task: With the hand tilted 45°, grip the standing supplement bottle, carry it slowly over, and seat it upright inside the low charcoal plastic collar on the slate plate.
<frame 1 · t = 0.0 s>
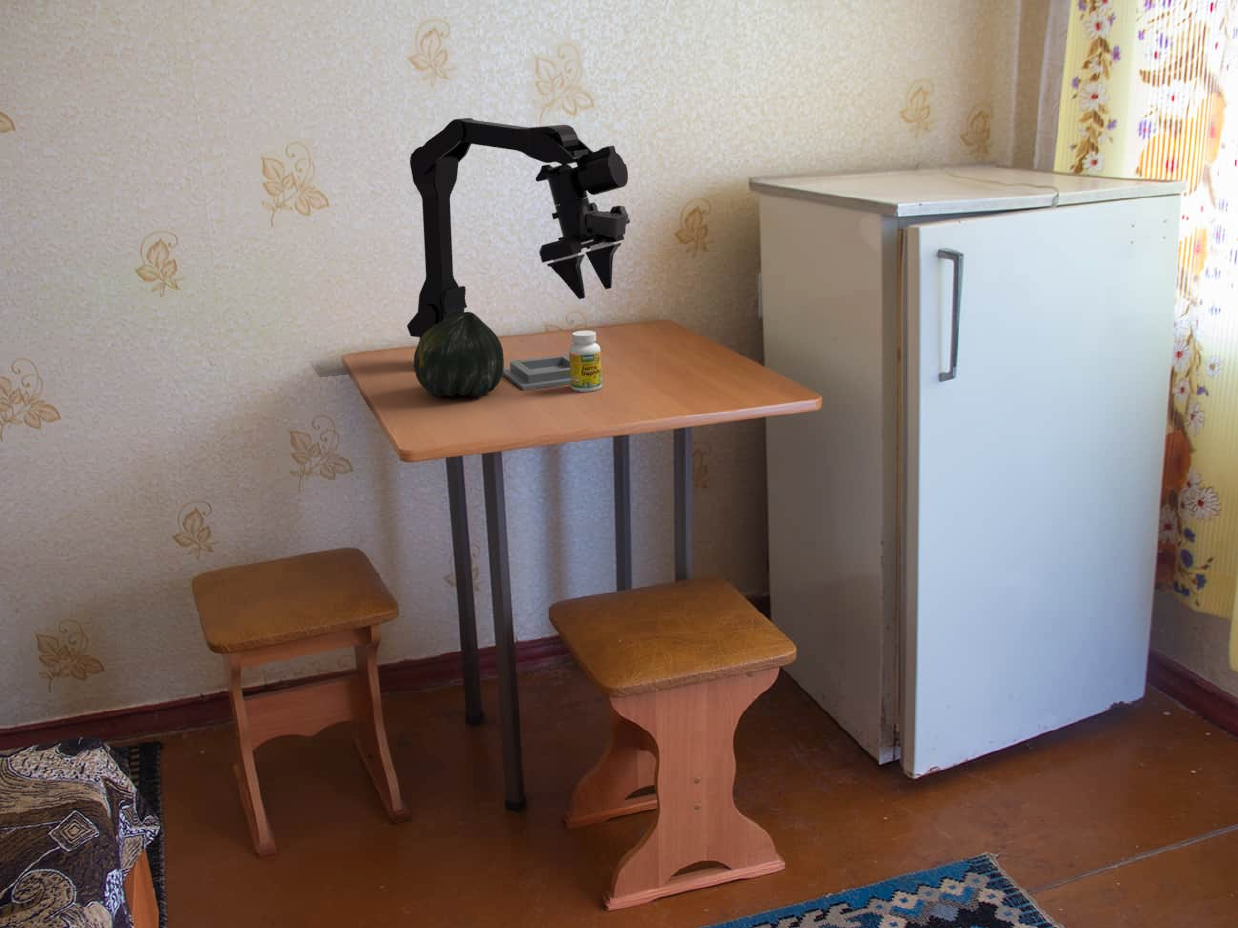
hand: (595, 293, 196), 15 cm above the table, tool pointing down, fingers open, 9 cm apart
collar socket: (549, 376, 207), on the table
squash: (463, 394, 198), on the table
supplement bottle: (586, 389, 198), on the table
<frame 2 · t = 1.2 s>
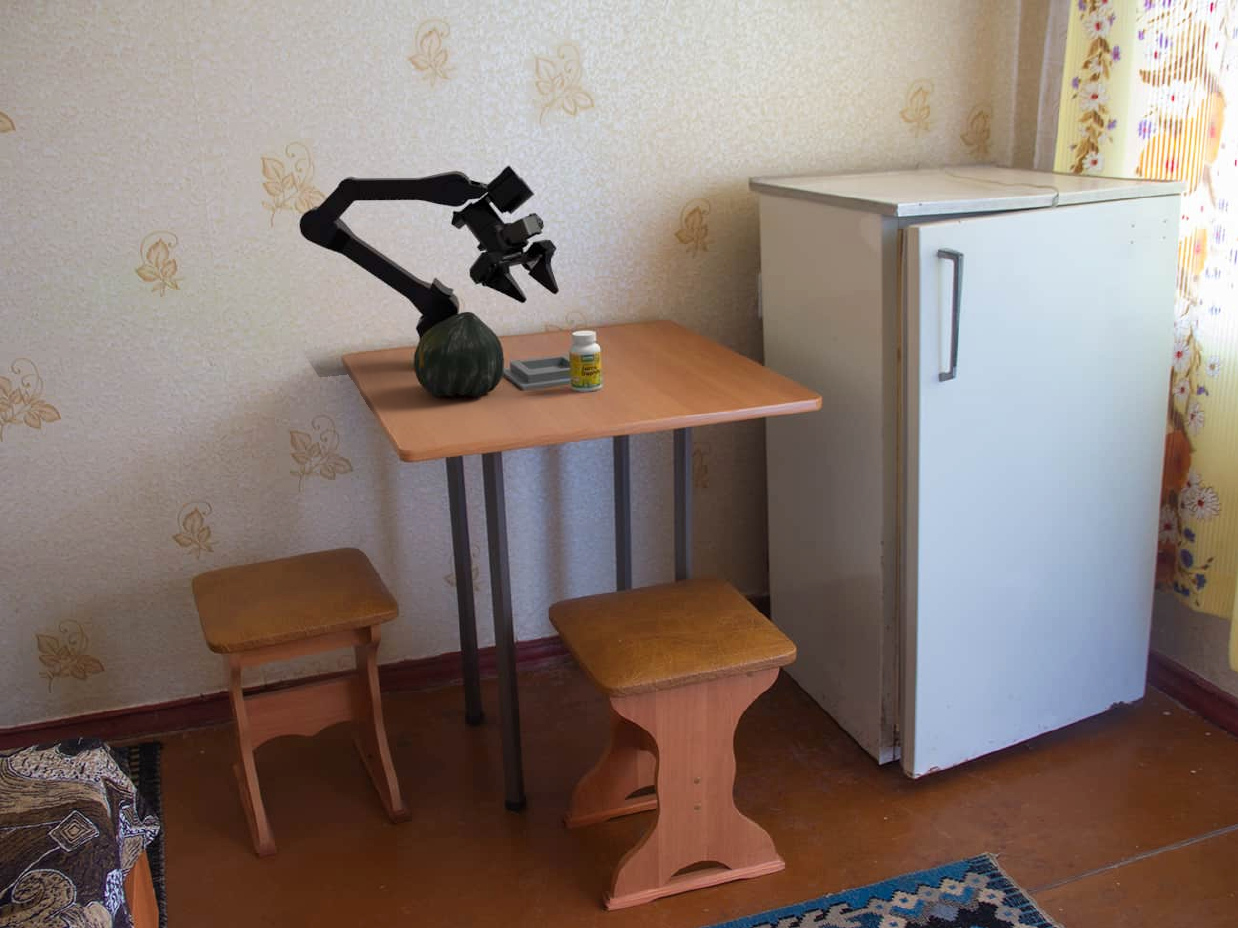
hand: (541, 297, 206), 13 cm above the table, tool tilted 45°, fingers open, 9 cm apart
nothing on the table moved.
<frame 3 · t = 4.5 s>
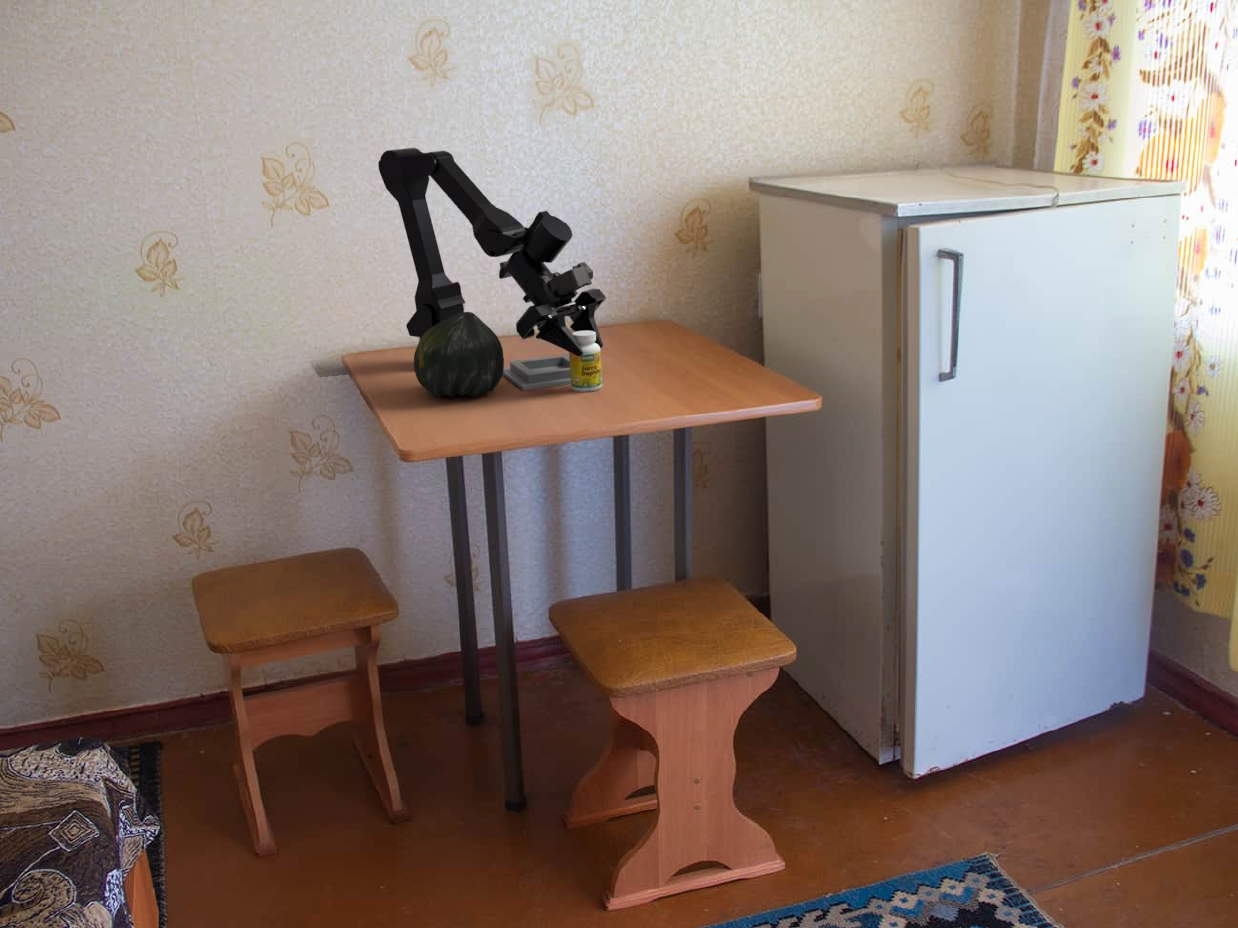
hand: (591, 351, 195), 7 cm above the table, tool tilted 45°, fingers closed on supplement bottle, 5 cm apart
supplement bottle: (586, 389, 198), on the table, touching gripper
everything else where it was.
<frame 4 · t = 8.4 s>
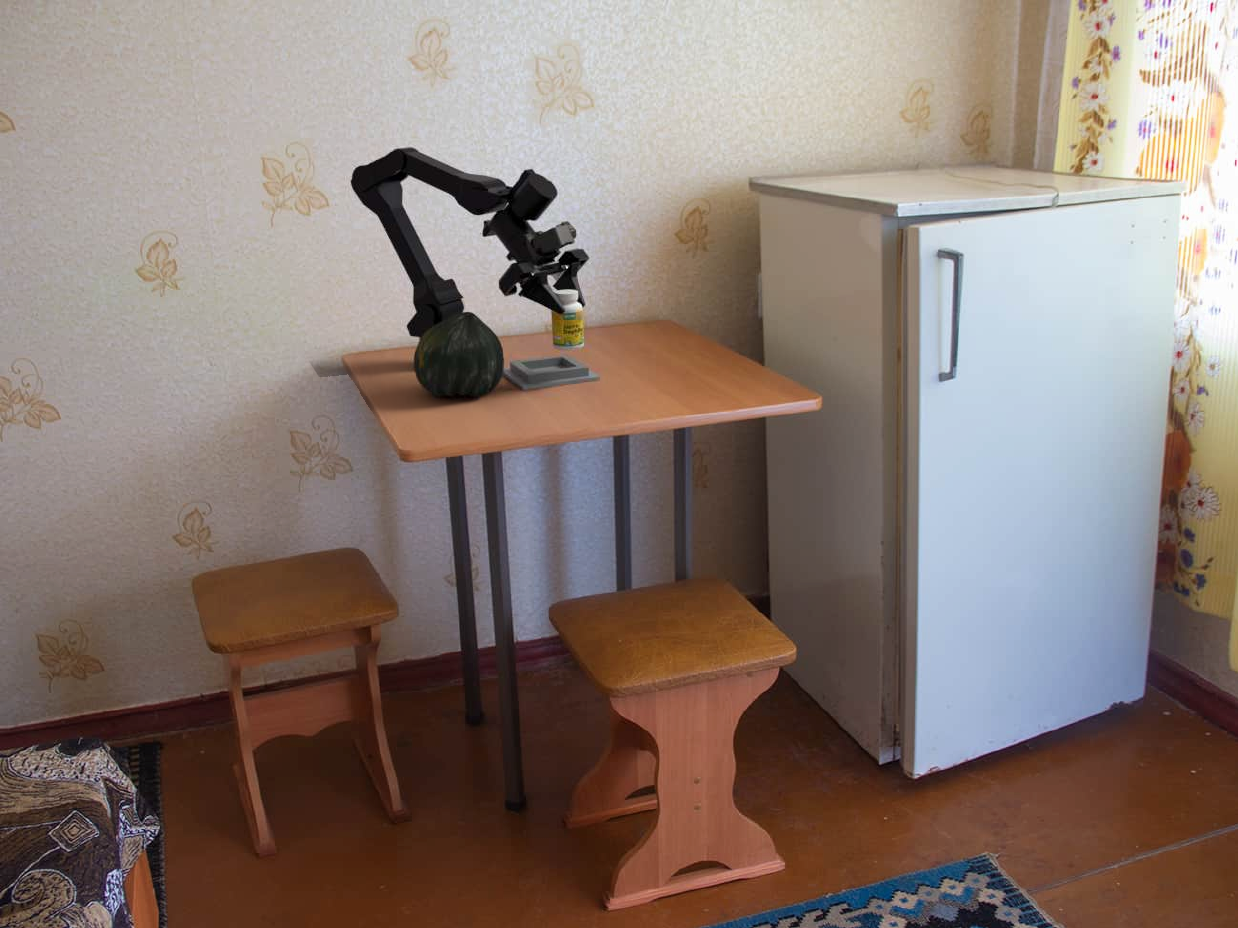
hand: (573, 309, 196), 13 cm above the table, tool tilted 45°, fingers closed on supplement bottle, 5 cm apart
supplement bottle: (568, 348, 199), point 6 cm above the table, touching gripper
everything else where it was.
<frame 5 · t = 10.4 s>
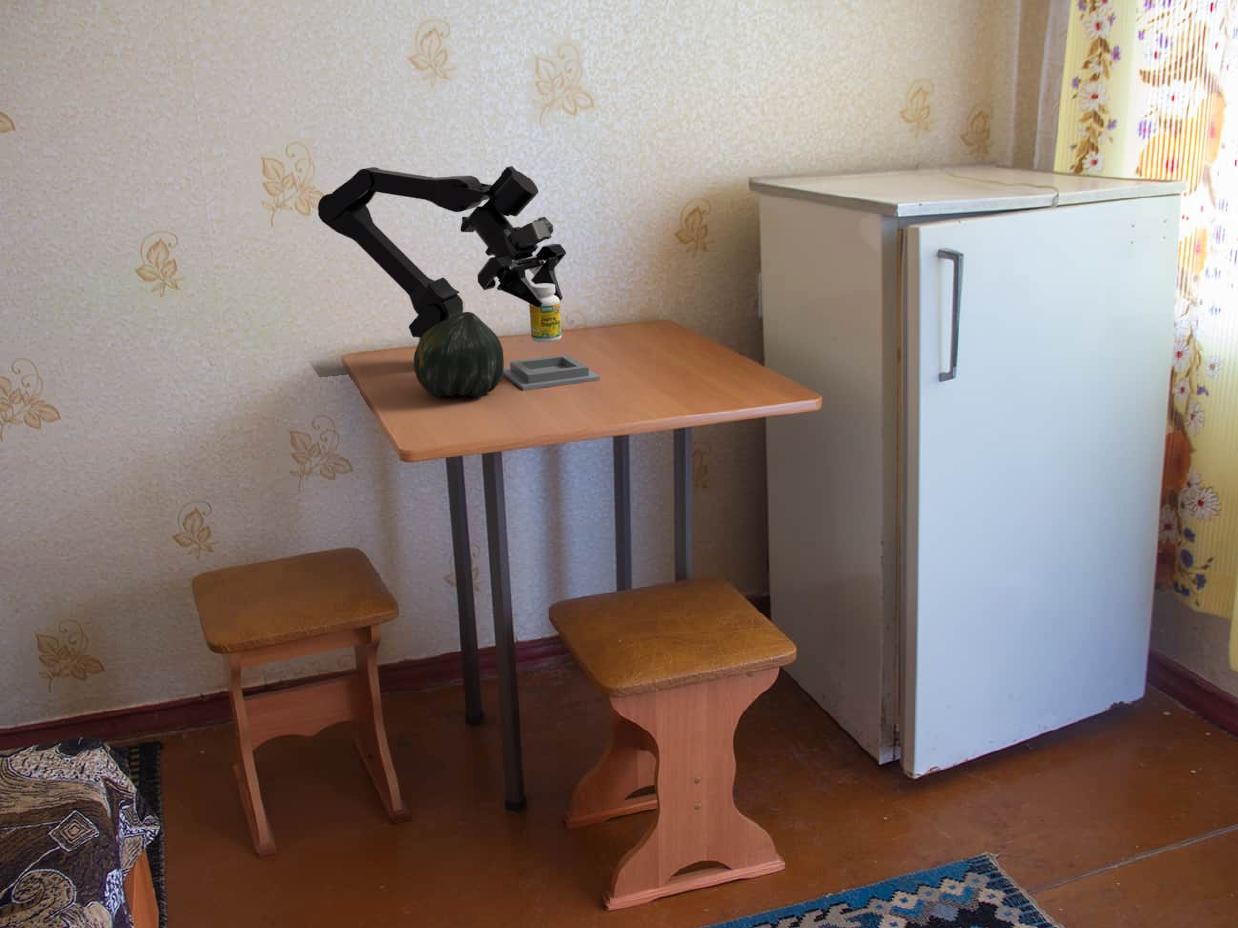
hand: (550, 303, 202), 13 cm above the table, tool tilted 45°, fingers closed on supplement bottle, 5 cm apart
supplement bottle: (546, 340, 204), point 6 cm above the table, touching gripper
everything else where it was.
when the fingers open (8 cm above the table, at t = 12.2 s): supplement bottle drops 1 cm, resting on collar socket.
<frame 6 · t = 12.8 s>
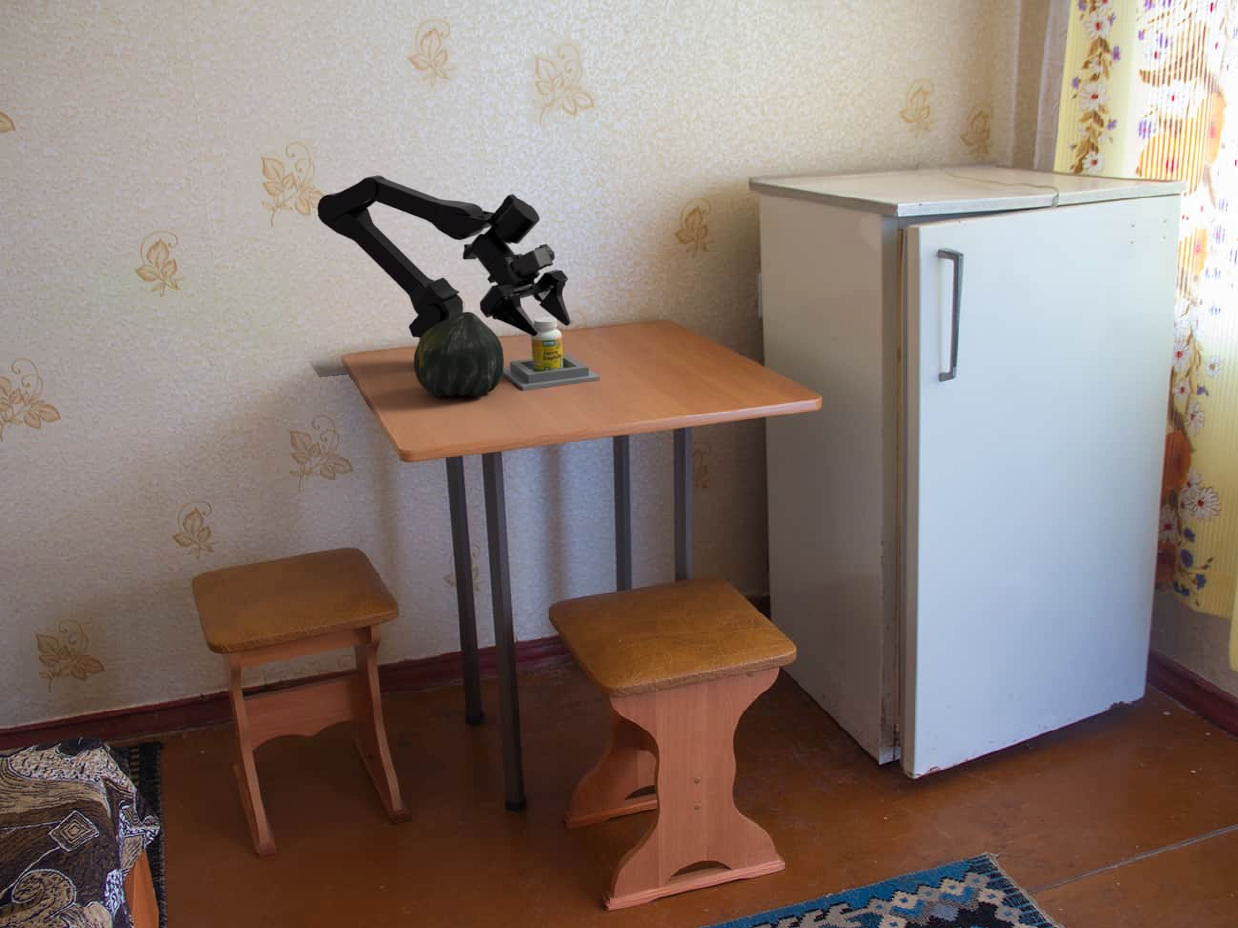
hand: (552, 329, 203), 9 cm above the table, tool tilted 45°, fingers open, 9 cm apart
supplement bottle: (548, 373, 206), resting on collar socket
everything else where it was.
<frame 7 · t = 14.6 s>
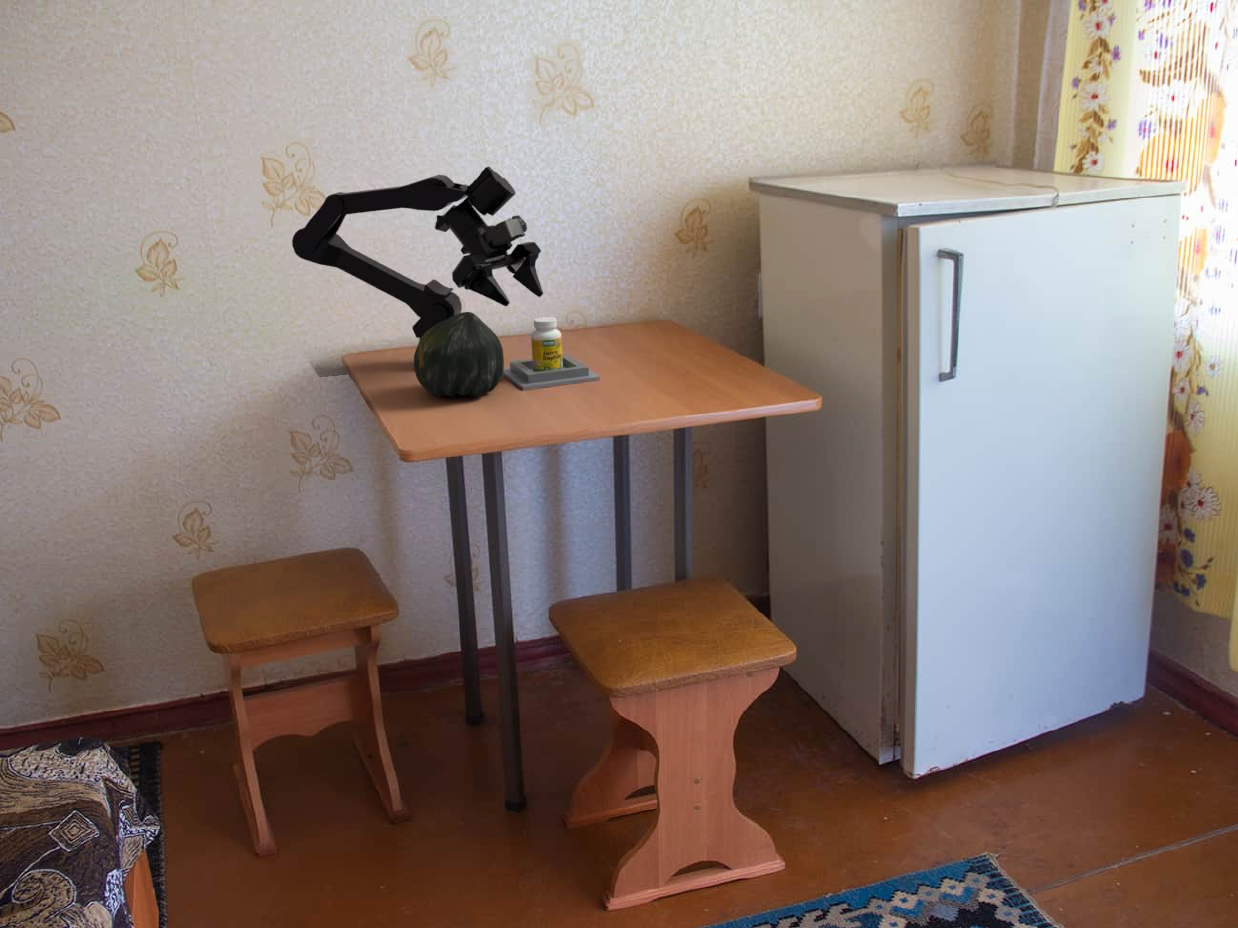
hand: (524, 300, 205), 13 cm above the table, tool tilted 45°, fingers open, 9 cm apart
nothing on the table moved.
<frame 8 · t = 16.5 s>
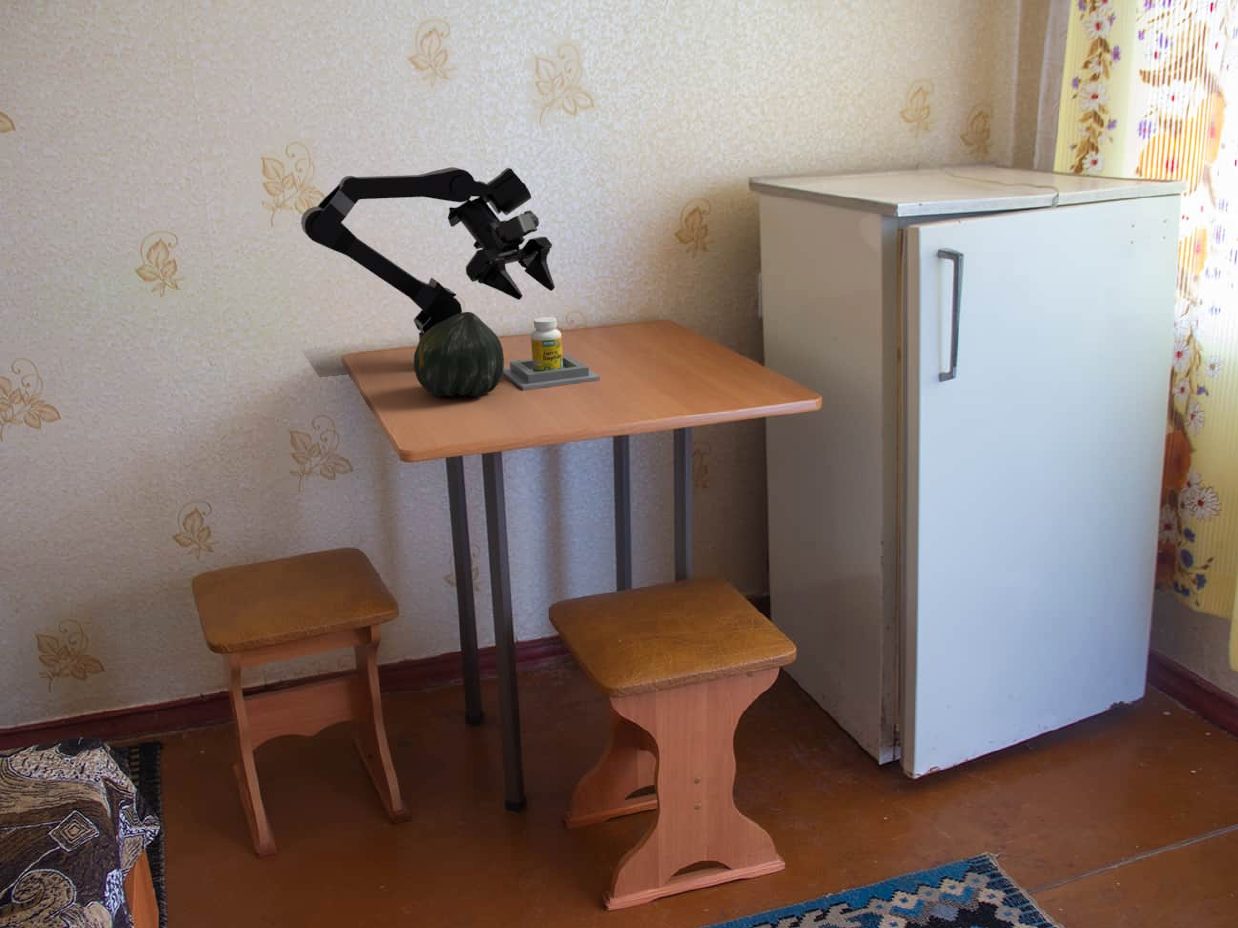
hand: (537, 293, 208), 14 cm above the table, tool tilted 45°, fingers open, 9 cm apart
nothing on the table moved.
at the end: supplement bottle 0.1 cm off-centre on the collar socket, point 0.4 cm above the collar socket's base; supplement bottle tilted 0°; the gripper is holding nothing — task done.
